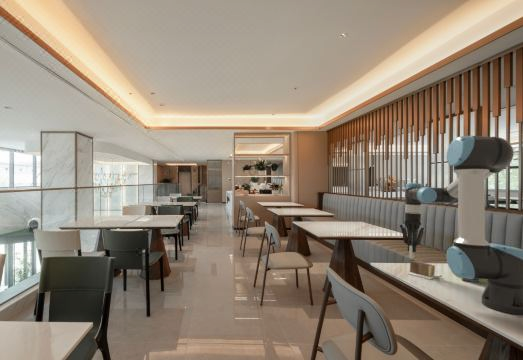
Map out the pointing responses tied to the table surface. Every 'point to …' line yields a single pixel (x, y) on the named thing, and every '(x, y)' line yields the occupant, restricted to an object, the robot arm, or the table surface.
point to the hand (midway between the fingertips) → (411, 257)
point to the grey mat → (425, 276)
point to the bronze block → (422, 268)
